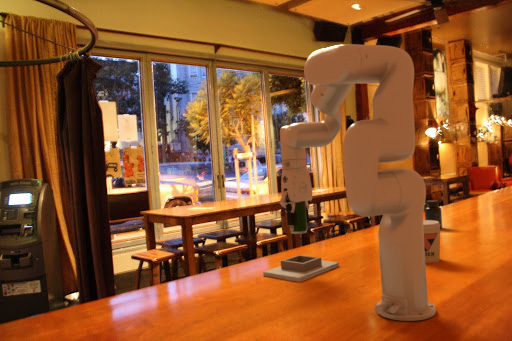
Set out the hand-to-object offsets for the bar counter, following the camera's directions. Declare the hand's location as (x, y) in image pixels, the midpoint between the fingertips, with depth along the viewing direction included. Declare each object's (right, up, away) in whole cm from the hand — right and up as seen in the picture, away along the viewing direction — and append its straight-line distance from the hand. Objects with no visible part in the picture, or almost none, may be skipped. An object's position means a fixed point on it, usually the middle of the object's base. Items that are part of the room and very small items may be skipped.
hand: (298, 223), depth 140 cm
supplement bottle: (+64, -9, +56) cm, 85 cm away
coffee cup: (+41, -12, +3) cm, 43 cm away
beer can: (0, -3, 0) cm, 3 cm away
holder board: (+1, -15, 0) cm, 15 cm away
